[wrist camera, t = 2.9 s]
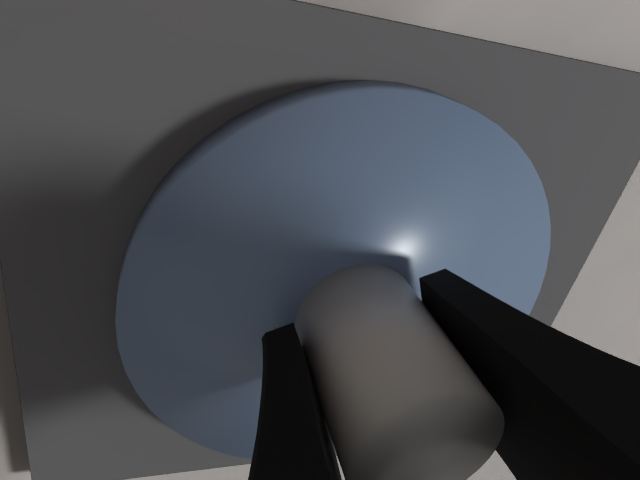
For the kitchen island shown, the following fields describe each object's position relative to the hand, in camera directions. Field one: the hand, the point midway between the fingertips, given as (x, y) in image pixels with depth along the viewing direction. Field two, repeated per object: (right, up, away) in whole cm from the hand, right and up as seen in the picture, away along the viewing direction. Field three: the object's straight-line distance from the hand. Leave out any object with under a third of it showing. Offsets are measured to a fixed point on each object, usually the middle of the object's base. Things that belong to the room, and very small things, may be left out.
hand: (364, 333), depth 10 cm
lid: (0, +1, +1) cm, 1 cm away
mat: (-1, +1, +2) cm, 2 cm away
